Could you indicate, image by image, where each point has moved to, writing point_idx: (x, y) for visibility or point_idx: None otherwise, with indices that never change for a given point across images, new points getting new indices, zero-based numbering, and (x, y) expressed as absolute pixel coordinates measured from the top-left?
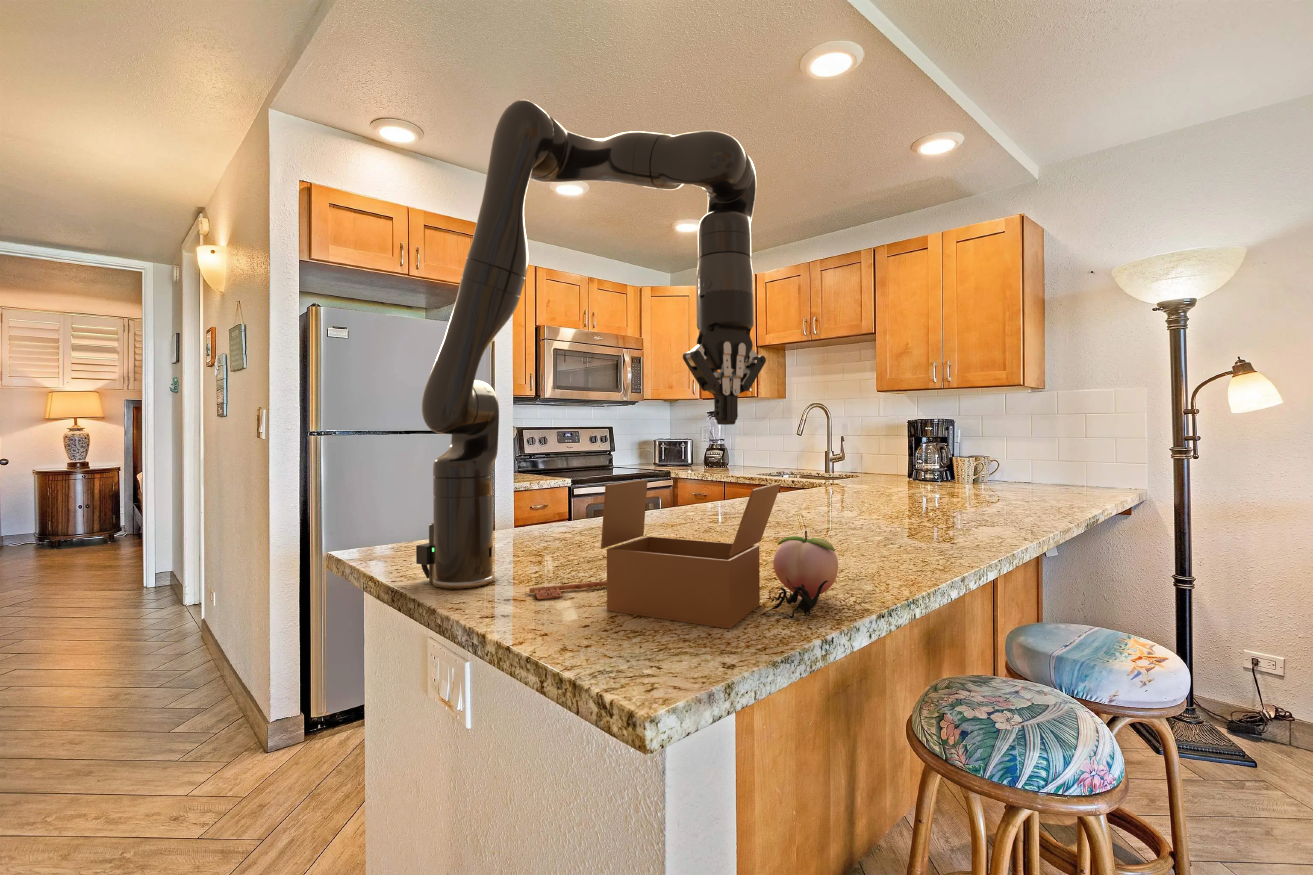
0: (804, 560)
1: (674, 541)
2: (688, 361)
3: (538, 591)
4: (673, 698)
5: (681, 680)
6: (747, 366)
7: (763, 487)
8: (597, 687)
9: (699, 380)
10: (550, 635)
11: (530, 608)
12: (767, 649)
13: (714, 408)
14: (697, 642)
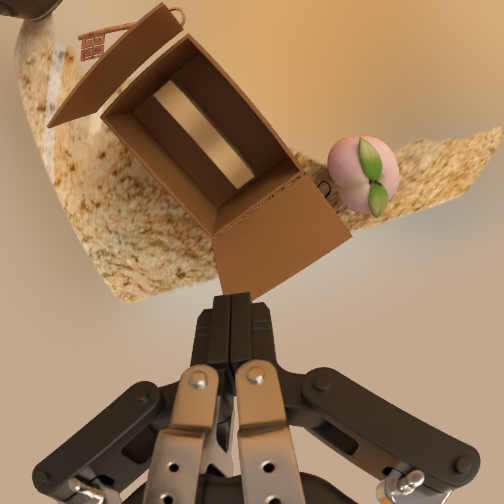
0: (345, 197)
1: (217, 69)
2: (58, 468)
3: (84, 43)
4: (135, 296)
5: (145, 280)
6: (389, 472)
7: (267, 290)
8: (100, 270)
9: (112, 419)
10: (76, 171)
11: (71, 87)
12: None
13: (194, 338)
14: (177, 228)
